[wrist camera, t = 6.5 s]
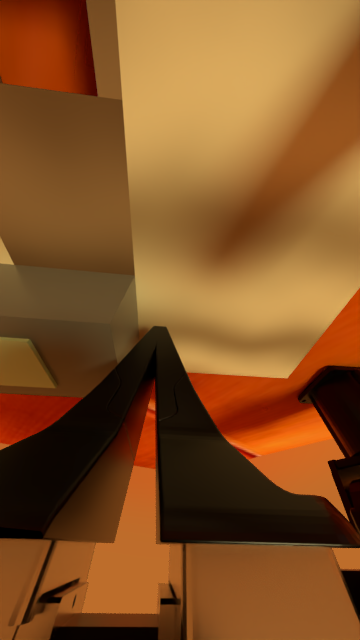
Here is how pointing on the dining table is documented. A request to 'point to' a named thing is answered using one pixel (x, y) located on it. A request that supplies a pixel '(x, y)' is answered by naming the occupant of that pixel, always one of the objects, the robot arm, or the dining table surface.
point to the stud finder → (63, 328)
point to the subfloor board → (201, 172)
